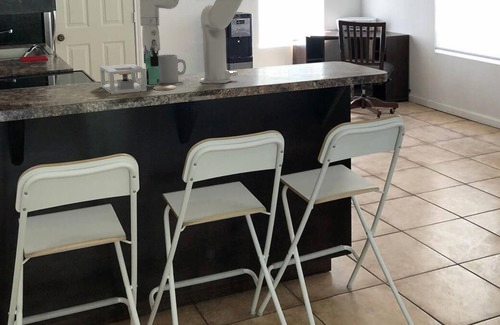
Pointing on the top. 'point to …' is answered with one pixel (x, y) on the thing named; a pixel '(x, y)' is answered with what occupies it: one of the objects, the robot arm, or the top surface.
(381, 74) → the top surface
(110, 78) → the white open box frame
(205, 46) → the robot arm
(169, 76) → the mug
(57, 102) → the top surface
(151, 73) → the spray can
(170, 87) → the coaster
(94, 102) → the top surface
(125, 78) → the button
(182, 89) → the top surface
